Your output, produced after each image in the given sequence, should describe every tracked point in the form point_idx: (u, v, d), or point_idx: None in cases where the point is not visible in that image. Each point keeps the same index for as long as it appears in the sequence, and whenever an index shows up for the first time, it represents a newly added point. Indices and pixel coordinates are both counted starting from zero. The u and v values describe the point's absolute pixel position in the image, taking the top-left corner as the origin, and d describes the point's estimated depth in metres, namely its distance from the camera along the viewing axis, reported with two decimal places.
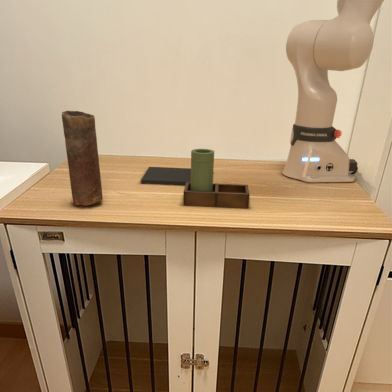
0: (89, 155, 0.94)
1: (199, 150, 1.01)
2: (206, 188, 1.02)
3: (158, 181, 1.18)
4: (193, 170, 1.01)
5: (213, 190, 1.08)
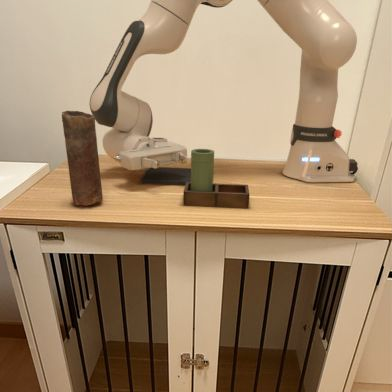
0: (89, 155, 0.94)
1: (199, 150, 1.01)
2: (206, 188, 1.02)
3: (158, 181, 1.18)
4: (193, 170, 1.01)
5: (213, 190, 1.08)
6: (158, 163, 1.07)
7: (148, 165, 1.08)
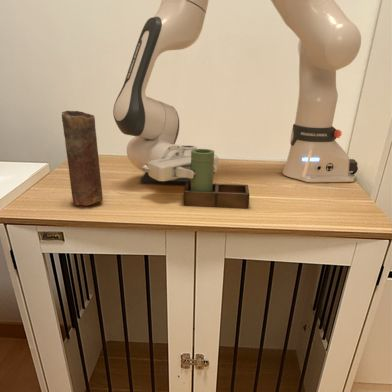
0: (89, 155, 0.94)
1: (199, 150, 1.01)
2: (206, 188, 1.02)
3: (158, 181, 1.18)
4: None
5: (213, 190, 1.08)
6: (194, 173, 1.00)
7: (183, 175, 1.01)
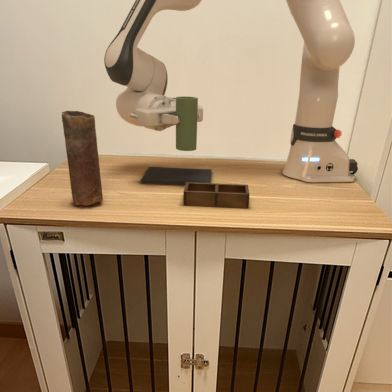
0: (89, 155, 0.94)
1: (183, 97, 1.06)
2: (191, 134, 1.07)
3: (158, 181, 1.18)
4: None
5: (213, 190, 1.08)
6: (179, 119, 1.05)
7: (168, 121, 1.06)
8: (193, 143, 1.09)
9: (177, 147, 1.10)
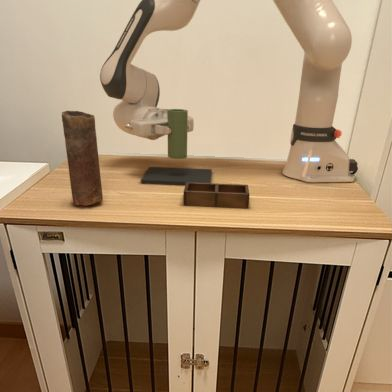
0: (89, 155, 0.94)
1: (175, 110, 1.15)
2: (181, 144, 1.17)
3: (158, 181, 1.18)
4: None
5: (213, 190, 1.08)
6: (170, 130, 1.14)
7: (161, 132, 1.15)
8: (183, 152, 1.18)
9: (169, 155, 1.19)
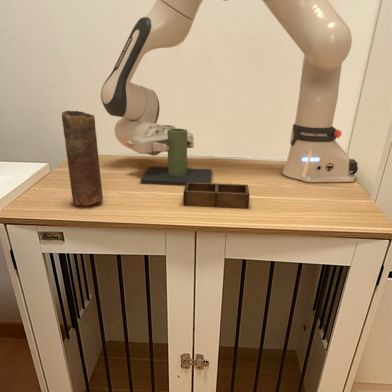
0: (89, 155, 0.94)
1: (174, 129, 1.18)
2: (181, 162, 1.20)
3: (158, 181, 1.18)
4: (169, 146, 1.18)
5: (213, 190, 1.08)
6: (167, 147, 1.16)
7: (158, 149, 1.17)
8: (183, 170, 1.21)
9: (169, 173, 1.22)
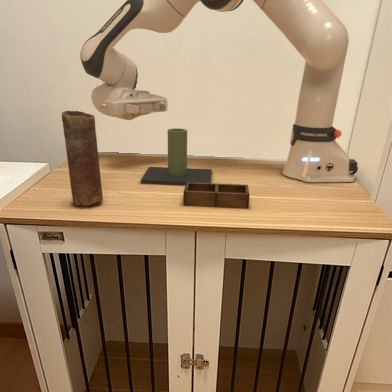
0: (89, 155, 0.94)
1: (174, 129, 1.18)
2: (181, 162, 1.20)
3: (158, 181, 1.18)
4: (169, 146, 1.18)
5: (213, 190, 1.08)
6: (139, 108, 1.19)
7: (131, 110, 1.20)
8: (183, 170, 1.21)
9: (169, 173, 1.22)
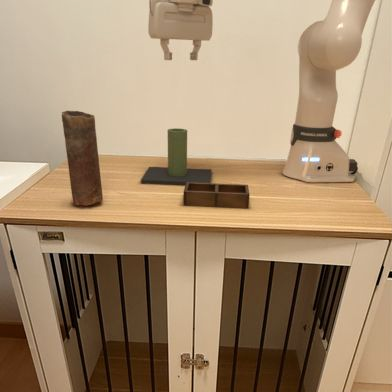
0: (89, 155, 0.94)
1: (174, 129, 1.18)
2: (181, 162, 1.20)
3: (158, 181, 1.18)
4: (169, 146, 1.18)
5: (213, 190, 1.08)
6: (169, 59, 1.12)
7: (163, 48, 1.11)
8: (183, 170, 1.21)
9: (169, 173, 1.22)
